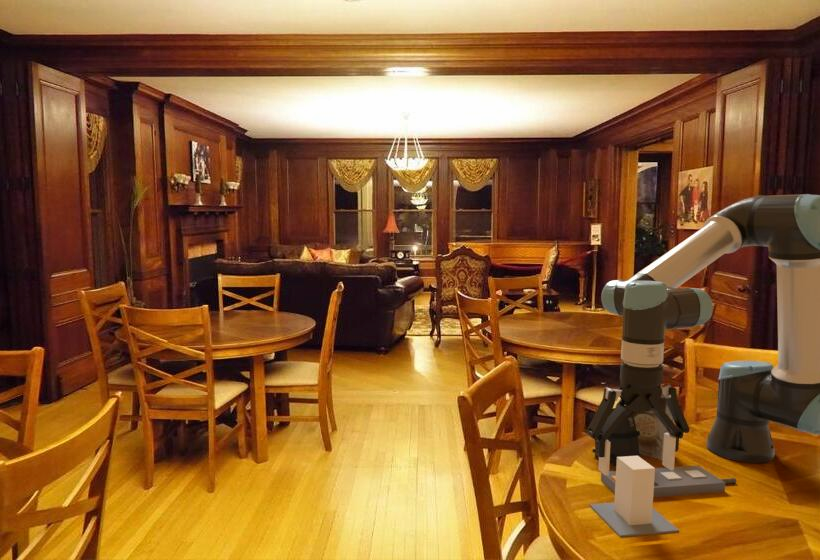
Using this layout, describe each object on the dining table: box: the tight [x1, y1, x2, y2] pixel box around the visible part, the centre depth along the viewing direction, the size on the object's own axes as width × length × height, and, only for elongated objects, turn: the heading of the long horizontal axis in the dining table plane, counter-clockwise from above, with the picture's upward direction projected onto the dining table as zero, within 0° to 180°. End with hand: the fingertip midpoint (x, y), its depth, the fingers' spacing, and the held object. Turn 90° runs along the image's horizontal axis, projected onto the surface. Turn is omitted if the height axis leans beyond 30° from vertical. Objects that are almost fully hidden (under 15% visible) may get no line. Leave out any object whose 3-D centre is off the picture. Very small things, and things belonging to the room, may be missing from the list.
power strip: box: [600, 464, 737, 498], centre depth 133 cm, size 30×9×3 cm, turn 100°
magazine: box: [587, 406, 643, 467], centre depth 145 cm, size 4×13×15 cm, turn 32°
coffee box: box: [633, 396, 674, 461], centre depth 151 cm, size 9×6×16 cm
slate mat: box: [589, 501, 680, 538], centre depth 118 cm, size 12×12×1 cm
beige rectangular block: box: [613, 455, 656, 525], centre depth 118 cm, size 4×6×11 cm
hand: (636, 470), depth 117 cm, fingers open, 13 cm apart
